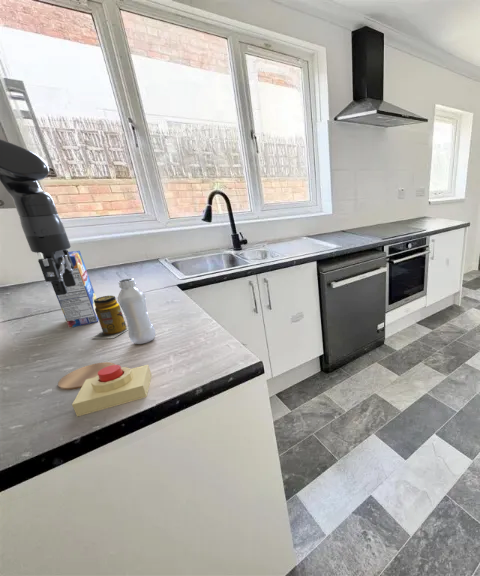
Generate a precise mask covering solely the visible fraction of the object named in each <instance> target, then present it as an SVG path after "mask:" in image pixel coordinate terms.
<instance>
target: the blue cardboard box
mask: <svg viewBox="0 0 480 576" xmlns="http://www.w3.org/2000/svg"><path fill="white" fill-rule="evenodd" d="M68 253H69V255H70V258H71V261H72V263H73V266H74V269H72V270H73V276H74V279H75V282H76V285H75V286H69V287H67V286H65V287H66V289H67V293H66V294H63V295H56V294H55V296H56V300H57V301H58V305H59V306H60V309H61V311H62V313H63V316H64V319H65V321H66V324H67V327H68V329H70V328H71V329H72V328H77V327H80V326H85V325H90V324H94V323H95V324H96V323H98V322H99V319H98V317H97V314H96V311H95V308H96V306H95V303H94V300H95V299H96V298H97V296H96V293H95V290H94V287H93V285H92V282H91V278H90V276H89V273H88V270H87V268H86V265H85V262H84V259H83V256H82V252H81V250H73V251H72V250H71V251H68ZM52 276H54V274H53V275H52ZM64 284H65V283H64Z"/></svg>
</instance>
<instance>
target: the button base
mask: <svg viewBox="0 0 480 576" xmlns="http://www.w3.org/2000/svg"><path fill="white" fill-rule="evenodd" d="M121 369H122V372H123V375H122V376H120V377H119V378H117V379H115V380H112V381H108V382H101V381H100V379H99V376H96V377H94V378H90V379H86V380H85V382H84V384H83V386H82V388H79V391H78V393H77V395H76V397H75V398H74V400H73V402H72V403H71V405H72V408H73V410H74V413H75V414H76V417H82V416H84V415H89V414H92V413H94V412H95V413H96V412H99V411H102V410H106V409H109V408H112V407H117V406H120V405H124V404H127V403H130V402H134V401H137V400H141V399H145V398H147V397H148V393H149V389H150V384H151V380H152V376H153V374H152V372H151V368H150V365H149V364H145V365H144V364H143V365H141V366H140V365H139V366H137V367H132V368H130V367H127V366H126V367H125V366H124V367H123V366H121Z"/></svg>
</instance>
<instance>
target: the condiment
mask: <svg viewBox="0 0 480 576" xmlns="http://www.w3.org/2000/svg"><path fill="white" fill-rule="evenodd" d="M94 303H95V306H96V308H95V311H96V314H97V317H98V319H99V320H98V322H99V325H100V328H101V332H99V333H97V334H96V335H94V336H91V339H99V340H102V339H104V340H105V339H114V338H116V337H119V335H122V334H123V333H125V332H127V331H129V329H128V325H127V324H126V321H125V317H124V314H123V311H122V308H121V306H120V304H119V302H118V300H117V299H116V296H115V295H104V296H99V297H96V299H95V300H94Z"/></svg>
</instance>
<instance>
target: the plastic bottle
mask: <svg viewBox="0 0 480 576" xmlns="http://www.w3.org/2000/svg"><path fill="white" fill-rule="evenodd" d="M117 283H118V288H119V289H121V290H120V291H119V293H118V295H117V303H118V304H119V305H120V309H121V311H122V313H123V315H124V317H125V320H126V323H127V324H126V325H127V326H128V338H129V340H130V342H131V343H133V344H135V345H142V344H146V343H150V342H151V341H153V340H154V339H155V337H156V335H157V334H156V329H155V327H154V325H153V324H152V321H151V319H150V316H149V313H148V308H147V301H146V294H145V293H144V291H142V290H141V288H138V287H137V283H136V281H135V278H132V277H131V278H124V279H120V280H118V282H117Z"/></svg>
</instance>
